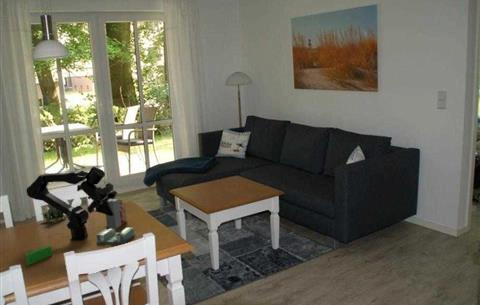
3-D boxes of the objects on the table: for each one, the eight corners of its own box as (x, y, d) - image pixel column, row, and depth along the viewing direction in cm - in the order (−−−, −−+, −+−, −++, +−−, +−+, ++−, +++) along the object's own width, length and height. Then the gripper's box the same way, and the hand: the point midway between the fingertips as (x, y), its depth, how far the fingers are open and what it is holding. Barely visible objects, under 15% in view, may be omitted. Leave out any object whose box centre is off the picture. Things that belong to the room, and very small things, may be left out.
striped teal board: (97, 243, 200) (95, 232, 199) (109, 234, 210) (108, 223, 209) (123, 244, 196) (122, 233, 195) (134, 235, 207) (133, 224, 205)
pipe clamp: (47, 254, 191) (46, 244, 190) (52, 255, 189) (51, 246, 188) (23, 263, 182) (22, 253, 181) (28, 265, 180) (26, 255, 179)
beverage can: (126, 219, 230) (123, 198, 228) (127, 224, 223) (124, 202, 220) (111, 222, 228) (108, 200, 225) (111, 226, 220) (108, 204, 218)
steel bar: (107, 228, 200) (104, 202, 198) (113, 224, 205) (109, 198, 202) (116, 228, 199) (112, 202, 196) (121, 224, 204) (118, 199, 201)
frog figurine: (30, 225, 232) (27, 205, 230) (55, 214, 249) (52, 195, 246) (54, 227, 226) (51, 207, 223) (79, 216, 242) (76, 197, 240)
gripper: (89, 184, 189) (114, 208, 189) (111, 174, 207) (134, 196, 207) (76, 201, 193) (101, 225, 192) (99, 189, 211) (121, 211, 210)
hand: (115, 213), depth 200 cm, fingers closed on steel bar, 5 cm apart
